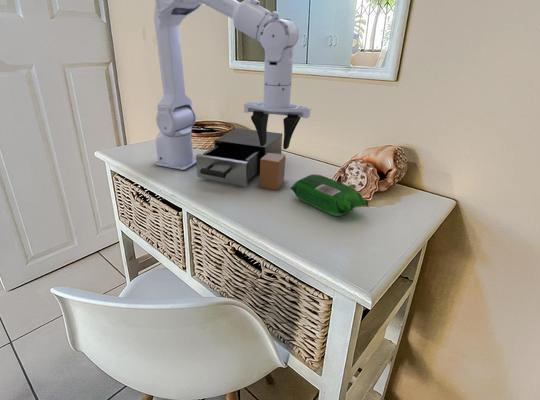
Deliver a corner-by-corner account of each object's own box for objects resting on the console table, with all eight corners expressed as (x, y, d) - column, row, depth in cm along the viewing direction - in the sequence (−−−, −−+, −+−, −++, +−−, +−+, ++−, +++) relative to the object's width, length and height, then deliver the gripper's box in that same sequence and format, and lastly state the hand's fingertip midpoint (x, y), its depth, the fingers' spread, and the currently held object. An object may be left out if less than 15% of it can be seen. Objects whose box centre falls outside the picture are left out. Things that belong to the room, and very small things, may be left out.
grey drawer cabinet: (264, 174, 85) (265, 147, 82) (215, 166, 91) (214, 140, 87) (281, 158, 96) (282, 133, 92) (236, 151, 102) (235, 128, 98)
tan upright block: (259, 187, 79) (260, 159, 75) (266, 179, 83) (267, 152, 79) (277, 190, 77) (278, 162, 74) (283, 182, 81) (285, 155, 78)
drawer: (238, 193, 74) (238, 169, 71) (188, 183, 79) (186, 160, 76) (265, 168, 87) (266, 147, 84) (220, 161, 92) (220, 141, 89)
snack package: (345, 227, 62) (349, 202, 60) (287, 196, 74) (288, 175, 71) (368, 216, 66) (373, 192, 64) (309, 189, 77) (311, 168, 75)
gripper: (316, 83, 70) (310, 145, 76) (253, 79, 76) (252, 137, 82) (307, 88, 64) (301, 154, 71) (240, 84, 70) (240, 146, 76)
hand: (274, 146), depth 76 cm, fingers open, 5 cm apart
